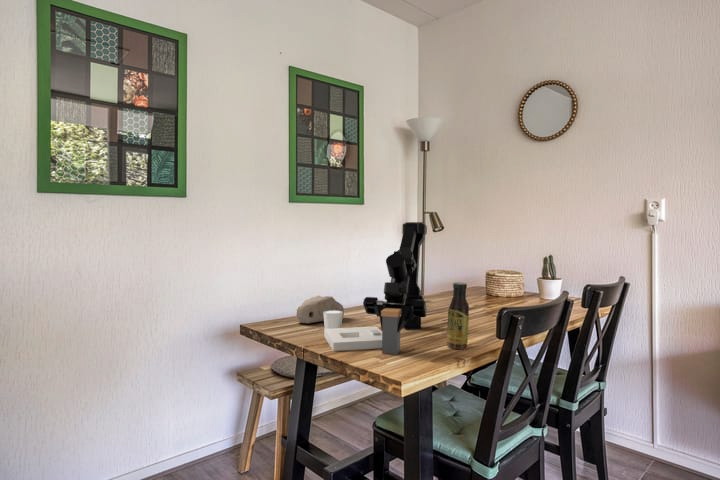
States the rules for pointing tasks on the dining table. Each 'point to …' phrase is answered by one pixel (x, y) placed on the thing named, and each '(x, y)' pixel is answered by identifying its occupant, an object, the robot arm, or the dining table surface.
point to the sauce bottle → (458, 318)
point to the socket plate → (354, 338)
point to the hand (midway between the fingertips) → (390, 330)
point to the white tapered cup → (333, 319)
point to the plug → (390, 330)
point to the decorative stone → (317, 309)
